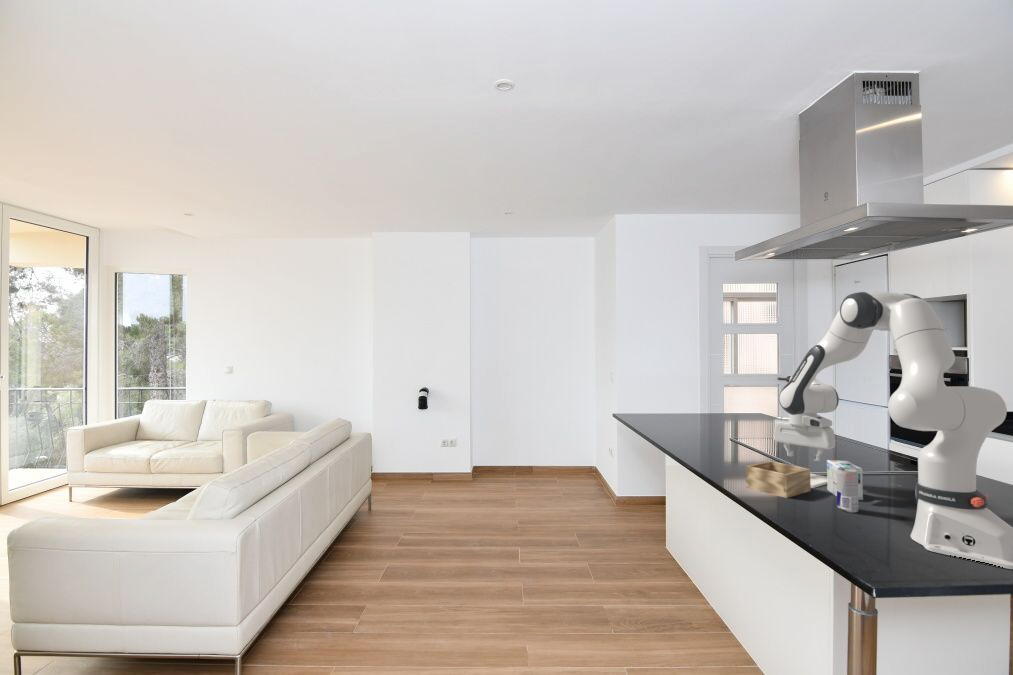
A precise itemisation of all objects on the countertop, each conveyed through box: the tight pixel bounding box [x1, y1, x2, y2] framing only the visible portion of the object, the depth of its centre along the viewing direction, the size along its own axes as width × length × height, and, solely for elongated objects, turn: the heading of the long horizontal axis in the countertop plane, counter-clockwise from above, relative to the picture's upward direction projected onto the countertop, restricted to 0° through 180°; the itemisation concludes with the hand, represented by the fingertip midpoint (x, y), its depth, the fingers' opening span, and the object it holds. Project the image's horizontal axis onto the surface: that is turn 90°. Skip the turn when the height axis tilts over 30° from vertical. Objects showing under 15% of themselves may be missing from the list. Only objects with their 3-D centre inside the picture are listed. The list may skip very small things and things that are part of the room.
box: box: [745, 460, 811, 499], centre depth 175 cm, size 14×14×8 cm
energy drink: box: [836, 468, 859, 514], centre depth 156 cm, size 5×5×12 cm
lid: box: [810, 472, 827, 489], centre depth 187 cm, size 15×15×5 cm
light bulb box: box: [826, 459, 864, 501], centre depth 169 cm, size 11×7×11 cm, turn 168°
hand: (803, 458), depth 186 cm, fingers open, 8 cm apart
